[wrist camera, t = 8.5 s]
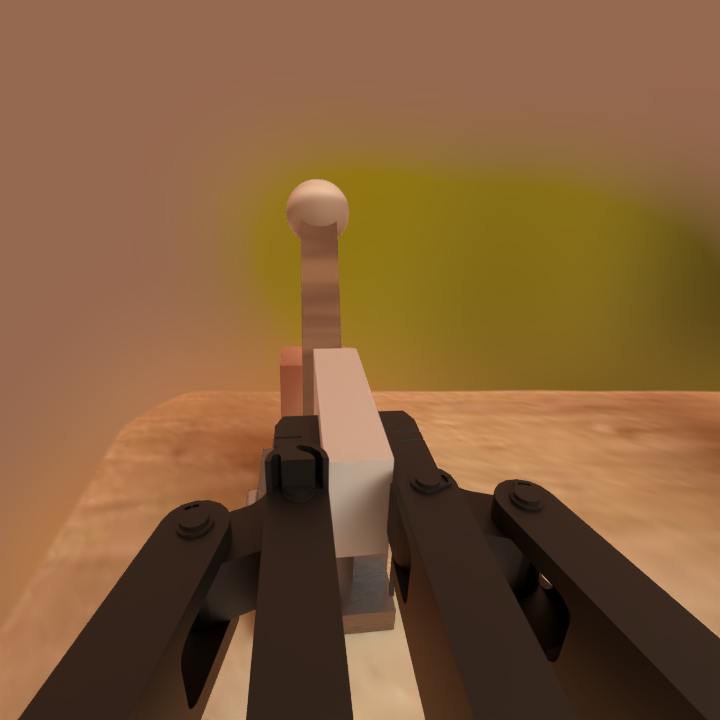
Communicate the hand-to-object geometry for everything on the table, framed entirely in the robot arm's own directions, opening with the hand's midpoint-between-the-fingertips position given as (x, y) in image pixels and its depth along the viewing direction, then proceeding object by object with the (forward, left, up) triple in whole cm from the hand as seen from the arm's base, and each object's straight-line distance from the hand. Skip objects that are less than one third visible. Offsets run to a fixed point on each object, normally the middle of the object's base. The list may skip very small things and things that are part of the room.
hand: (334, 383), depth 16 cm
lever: (-5, -4, -11) cm, 13 cm away
